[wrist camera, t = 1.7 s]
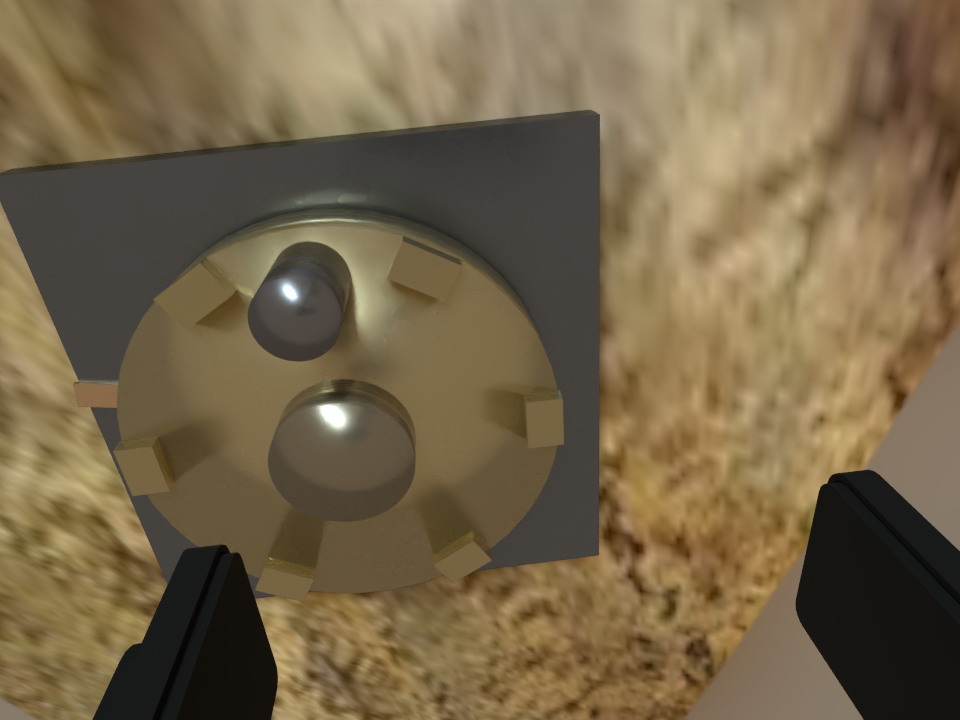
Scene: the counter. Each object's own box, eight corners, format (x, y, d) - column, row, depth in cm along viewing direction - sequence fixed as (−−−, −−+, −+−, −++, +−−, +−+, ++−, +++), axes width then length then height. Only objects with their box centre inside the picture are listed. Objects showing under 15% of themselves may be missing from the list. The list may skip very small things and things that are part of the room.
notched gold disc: (541, 185, 27) (576, 232, 21) (555, 531, 36) (582, 633, 30) (75, 234, 26) (-26, 297, 20) (208, 574, 35) (166, 687, 29)
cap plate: (590, 109, 27) (600, 115, 26) (592, 536, 38) (599, 557, 37) (1, 170, 26) (-24, 179, 25) (179, 588, 38) (170, 611, 36)
